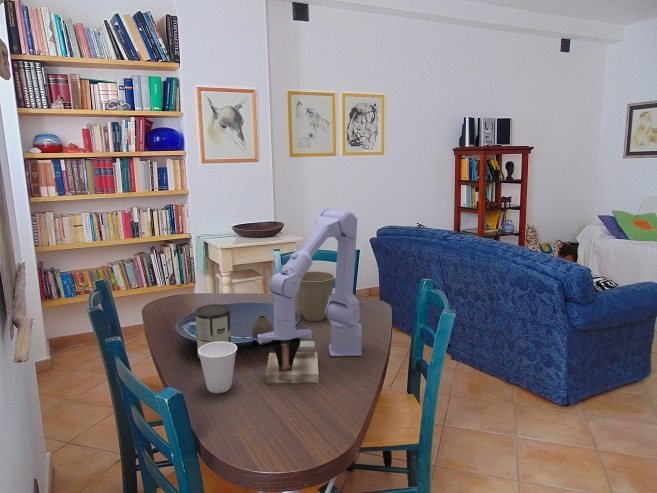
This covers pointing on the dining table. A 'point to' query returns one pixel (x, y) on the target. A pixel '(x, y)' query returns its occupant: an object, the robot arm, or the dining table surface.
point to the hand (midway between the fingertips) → (285, 364)
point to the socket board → (294, 369)
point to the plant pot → (315, 294)
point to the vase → (261, 327)
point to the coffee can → (212, 324)
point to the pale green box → (307, 346)
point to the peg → (285, 358)
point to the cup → (218, 365)
